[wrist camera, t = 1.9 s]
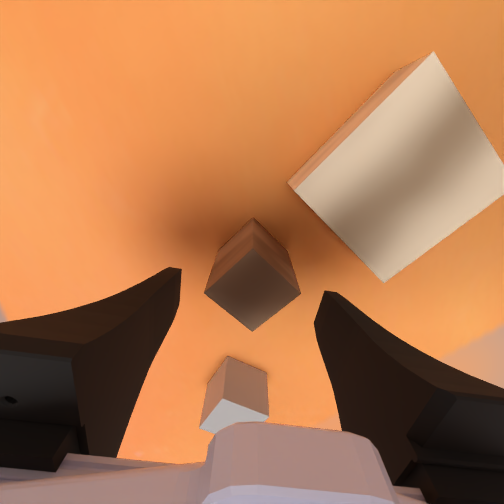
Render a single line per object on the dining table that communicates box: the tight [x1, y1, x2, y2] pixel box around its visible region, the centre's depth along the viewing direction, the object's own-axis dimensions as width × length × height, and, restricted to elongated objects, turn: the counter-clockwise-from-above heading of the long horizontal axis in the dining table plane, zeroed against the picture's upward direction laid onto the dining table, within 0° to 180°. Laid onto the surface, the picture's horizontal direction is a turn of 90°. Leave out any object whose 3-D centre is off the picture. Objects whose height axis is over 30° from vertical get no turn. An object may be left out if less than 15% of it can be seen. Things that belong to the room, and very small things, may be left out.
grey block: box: [199, 356, 269, 434], centre depth 21 cm, size 4×4×4 cm
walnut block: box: [204, 218, 301, 331], centre depth 15 cm, size 4×4×6 cm
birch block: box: [287, 51, 504, 283], centre depth 14 cm, size 8×8×4 cm
